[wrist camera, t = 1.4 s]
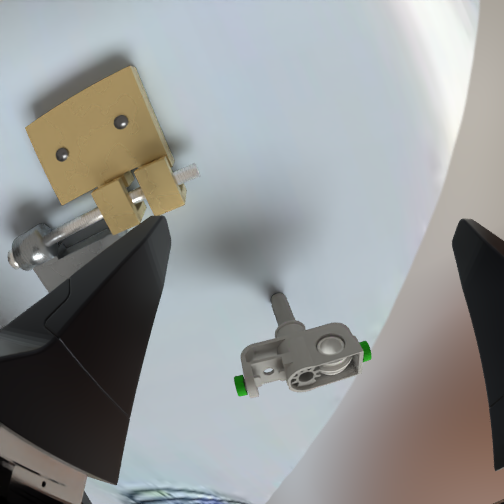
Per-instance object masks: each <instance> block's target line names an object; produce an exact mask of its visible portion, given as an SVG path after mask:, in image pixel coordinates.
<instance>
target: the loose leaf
mask: <svg viewBox="0 0 504 504" xmlns="http://www.w3.org/2000/svg"><path fill="white" fill-rule="evenodd" d="M25 129H26V131H27V134H28V136H29V138H30V141H31V143H32V145H33V147H34V150H35V152H36V154H37V156H38V159H39V161H40V163H41V165H42V167H43V169H44V171H45V173H46V175H47V177H48V180H49V182H50V184H51V186H52V188H53V190H54V191H55V193H56V195H57V197H58V199H59V201H60V203H61V205H62V206H63V205H64V204H66V203H68V202H70V201H72V200H73V199H75V198H77V197H79V196H81V195H83V194H84V193H86V192H88V191H90V190H92V189H94V188H96V187H98V188H97V189H95V190H94V191H93V192H92V193H91V195H92V197H93V199H94V201H95V203H96V205H97V206H98V208H99V210H100V212H101V214H102V216H103V218H104V220H105V221H106V223H107V225H108V227H109V229H110V231H111V232H112V234H113V236H114V235H116V234H118V233H120V232H122V231H125V230H127V229H129V228H131V227H134V226H136V225H138V224H140V222H141V220H142V217H143V215H144V212H145V210H146V208H147V207H146V205H145V203H144V201H141V202H139V203H137V204H135V205H134V203H133V201H132V199H131V197H130V195H129V193H128V191H127V189H126V187H128V186H130V184H131V183H132V181H133V180H134V177H133V175H132V173H131V171H130V170H132V169H134V168H137V167H138V169H136V170H135V171H134V174H135V176H136V178H137V180H138V183H139V185H140V187H141V189H142V191H143V193H144V195H145V197H146V199H147V201H148V203H149V205H150V207H151V209H152V211H153V213H154V215H155V216H158V215H161V214H164V213H166V212H168V211H171V210H173V209H176V208H178V207H180V206H183V205H185V199H186V191H187V190H186V188H185V186H184V183H183V184H181V185H178V183H177V181H176V179H175V176H174V174H173V172H172V170H171V167H172V166H173V164H174V158H173V156H172V154H171V151H170V149H169V147H168V144H167V142H166V140H165V137H164V135H163V133H162V130H161V128H160V125H159V123H158V121H157V118H156V116H155V113H154V111H153V109H152V106H151V104H150V101H149V99H148V97H147V94H146V92H145V89H144V87H143V84H142V82H141V79H140V77H139V74H138V72H137V69H136V67H133V66H128V67H126V68H124V69H122V70H120V71H118V72H116V73H114V74H112V75H110V76H108V77H106V78H104V79H103V80H101V81H99V82H97V83H95V84H93V85H92V86H90V87H88V88H86V89H84V90H83V91H81V92H79V93H78V94H76V95H74V96H73V97H71V98H69V99H68V100H66V101H64V102H63V103H61V104H60V105H58V106H56V107H55V108H53V109H52V110H50V111H49V112H47V113H46V114H44V115H43V116H41V117H40V118H38V119H37V120H35V121H34V122H32V123H31V124H30V125H28V126H27V127H25Z"/></svg>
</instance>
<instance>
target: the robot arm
mask: <svg viewBox="0 0 504 504" xmlns="http://www.w3.org/2000/svg"><path fill="white" fill-rule="evenodd" d="M452 247H453V251H454V255H455V259H456V263H457V267H458V272H459V276H460V280H461V285H462V289H463V292H464V296H465V299H466V302H467V306H468V309H469V313H470V317H471V320H472V324H473V328H474V332H475V336H476V340H477V344H478V349H479V353H480V358H481V363H482V368H483V373H484V378H485V384H486V390H487V396H488V403H489V411H490V419H491V428H492V439H493V454H494V468H495V471H497V470H500V469H502V468H504V241H503V240H502V239H500V238H499V237H497V236H496V235H494V234H493V233H492V232H490V231H489V230H487V229H486V228H484V227H483V226H481V225H480V224H479V223H477V222H476V221H474V220H472V219H461V220H460V221H459V223H458V226H457V229H456V231H455V234H454V237H453V240H452ZM170 248H171V236H170V232H169V228H168V224H167V220H166V218H165V217H164V216H163V215H158V216H150V217H149V218H147V219H146V220H145V221H143V222H142V223H140V224H139V225H137V226H136V227H135V228H133V229H132V230H131V231H129V232H128V233H126V234H125V235H124V236H122V237H121V238H120V239H118V240H117V241H115V242H114V243H113V244H111V245H110V246H109V247H107V248H106V249H105V250H103V251H102V252H101V253H99V254H98V255H97V256H96V257H94V258H93V259H92V260H90V261H89V262H88V263H86V264H85V265H84V266H83V267H81V268H80V269H79V270H78V271H76V272H75V273H74V274H72V275H71V276H70V279H69V278H67V279H66V280H65V281H64V282H62V283H61V284H60V285H59V286H58V287H56V288H55V289H54V290H52V291H51V292H50V293H49V294H47V295H46V296H45V297H43V298H42V299H41V300H39V301H38V302H37V303H35V304H34V305H33V306H31V307H30V308H29V309H27V310H26V311H25V312H23V313H22V314H21V315H19V316H18V317H17V318H15V319H14V320H13V321H11V322H10V323H9V324H7V325H6V326H5V327H3V328H2V329H0V504H92V503H91V501H90V500H89V498H88V496H87V495H86V493H85V491H84V488H85V484H86V479H87V476H88V477H91V478H94V479H97V480H100V481H103V482H107V483H110V484H113V485H117V483H118V478H119V472H120V467H121V461H122V456H123V451H124V446H125V441H126V436H127V431H128V426H129V421H130V416H131V411H132V407H133V402H134V398H135V393H136V389H137V385H138V381H139V377H140V373H141V368H142V364H143V360H144V357H145V353H146V349H147V345H148V341H149V337H150V334H151V330H152V326H153V323H154V319H155V315H156V312H157V308H158V305H159V301H160V298H161V294H162V291H163V286H164V281H165V276H166V270H167V264H168V259H169V253H170ZM493 504H504V499H502V500H500V501H498V502H496V503H493Z"/></svg>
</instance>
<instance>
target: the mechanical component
mask: <svg viewBox="0 0 504 504" xmlns="http://www.w3.org/2000/svg"><path fill="white" fill-rule="evenodd" d="M271 303H272V305H271V306H272V308H273V312H274V315H275V317H276V320H277V323H278V328H277V329H276V331H275V339H271V340H267V341H263V342H259V343H254V344H251V345H249V346H247V347H246V348H245V349H244V350H243V351H242V353H241V362H242V368H243V373H244V377H243V375H240V376H235V377H234V381H235V386H236V390H237V393H238V396H244V395H248V393H247V390H248V392H249V395H250V398H254V397H258V396H259V393H258V388H257V387H260V386H262V385H263V384H265V383H269V382H273V381H277V380H281V381H285V380H286V381H287V385H288V386H289V389H290V390H292V391H294V392H306V391H310V390H313V389H315V388H317V387H320V386H324V385H327V384H330V383H333V382H336V381H340V380H343V379H346V378H349V377H352V376H355V375H358V374H361V373H362V365H363V362H365V361H368V360H371V350H370V347H369V345H368V343H367V342H366V341H363V342H360V343H359V342H358V340H357V338H356V337H355V336H353V335H352V333H351V331H350V330H349V328H348V327H347V326H346V325H344V324H342V323H330V324H326V325H323V326H319V327H316V328H312V329H308V330H305V326H304V325H303V323H301V322H299V321H296V320H295V318H294V316H293V313H292V311H291V308H290V306H289V303H288V301H287V298H286V297H285V295H284V294H282V293H277V294H274V295H273V296H272V298H271ZM268 368H272V369H273V370H272V371H271V372H268V373H266V372H263V371H264V370H265V369H268ZM337 373H338V374H337ZM326 374H327V375H326ZM333 374H335V375H333ZM244 378H245V379H244Z"/></svg>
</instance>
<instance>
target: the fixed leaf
mask: <svg viewBox="0 0 504 504" xmlns="http://www.w3.org/2000/svg"><path fill="white" fill-rule="evenodd" d="M173 174H174V176H175V179H176V181H177V183H178V185H180V184H182V183H185V182H187V181H190V180H192V179H195V178H197V177H200V174H199V171H198V168H197V166H196V164H195V163H194V164H191V165H189V166H187V167H184V168H182V169H179V170H177V171H175V172H173ZM128 193H129V195H130V197H131V199H132V201H133V203H134V204H136V203H139V202H141V201H143V200H145V199H146V197H145V195H144V193H143V191H142V189H141V187H138V188H136V189H134V190H132V191H130V192H128ZM102 219H104V218H103V216H102V214H101V212H100V210H99V208H98V207H97V208H95V209H93V210H91V211H89V212H87V213H85V214H83V215H81V216H79V217H77V218H75V219H73V220H71V221H70V222H68V223H66V224H64V225H62V226H60V227H58V228H57V229H55V230H53V231H52V230H51V229H50V228H49V227H48V226H47V225H46V224H39V225H37V226H35V227H34V228H32V229H30V230H29V231H27V232H25V233H24V234H22V235H21V236H19V237H17V238H16V239H15V240H14V241H13V244H12V249H11V250H10V251H9V252H8V261H9V263H10V265H11V266H12V267H13V268H14V269H19V268H21V269H23V270H25V271H29V270H32V269H33V270H34V271H35V273H36V274H37V276H38V277H39V279H40V280H41V282H42V283H43V285H44V286H45V287H46V289H47V290H48V292H49V293H50V292H51V291H52V290H54V289H55V288H56V287H58V286H59V285H60V284H61V283H62V282H64V281H65V280H66V279H67V278H69V279H70V276H71V275H72V274H74V273H75V272H76V271H78V270H79V269H80V268H81V267H83V266H84V265H85V264H86V263H88V262H89V261H90V260H92V259H93V258H94V257H96V256H97V255H98V254H99V253H101V252H102V251H103V250H105V249H106V248H107V247H109V246H110V245H111V244H113V243H114V242H115V241H117V240H118V239H120V238H121V237H122V236H124V235H125V234H126V233H127V231H126V230H125V231H122V232H120V233H118V234H116V235H114V236H113V234H112V232H111V231H110V229H109V228H108V229H106V230H103V231H101V232H99V233H97V234H95V235H93V236H91V237H89V238H87V239H85V240H83V241H81V242H79V243H76V244H74V245H72V246H70V247H68V248H66V247H65V246H64V244H63V243H62V244H60V245H58V244H57V242H59V241H61V240H62V239H64V238H66V237H68V236H70V235H72V234H74V233H76V232H78V231H80V230H82V229H84V228H86V227H88V226H90V225H92V224H94V223H96V222H98V221H100V220H102Z"/></svg>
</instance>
